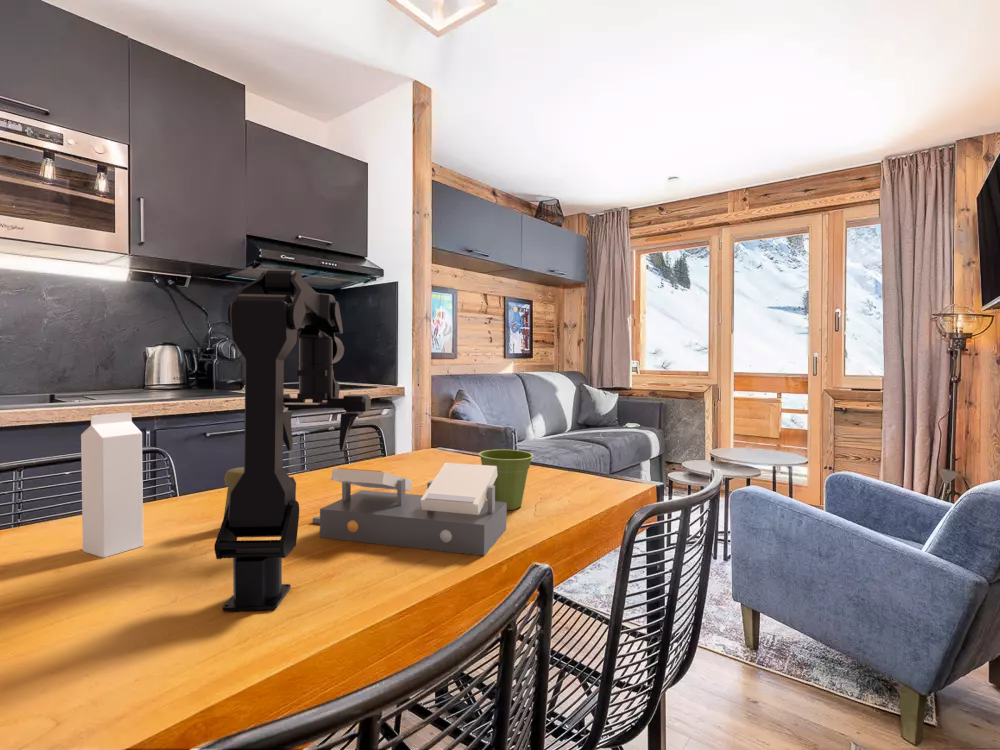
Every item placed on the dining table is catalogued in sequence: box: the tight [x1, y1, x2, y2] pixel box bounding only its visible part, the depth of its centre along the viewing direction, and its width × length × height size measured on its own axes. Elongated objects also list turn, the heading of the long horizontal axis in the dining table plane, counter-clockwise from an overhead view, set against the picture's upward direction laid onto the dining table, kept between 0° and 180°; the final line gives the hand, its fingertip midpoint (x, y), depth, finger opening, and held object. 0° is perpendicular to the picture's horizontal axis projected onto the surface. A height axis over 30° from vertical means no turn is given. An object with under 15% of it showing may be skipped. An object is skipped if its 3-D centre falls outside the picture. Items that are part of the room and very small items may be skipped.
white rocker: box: [421, 462, 498, 515], centre depth 93 cm, size 12×10×2 cm
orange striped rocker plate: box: [330, 467, 413, 492], centre depth 97 cm, size 12×10×2 cm
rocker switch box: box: [312, 478, 508, 557], centre depth 96 cm, size 14×36×10 cm, turn 75°
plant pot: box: [478, 449, 534, 511], centre depth 113 cm, size 12×12×11 cm
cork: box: [223, 466, 244, 516], centre depth 97 cm, size 6×6×11 cm
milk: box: [80, 412, 144, 559], centre depth 86 cm, size 6×6×22 cm
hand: (315, 450), depth 96 cm, fingers open, 9 cm apart
